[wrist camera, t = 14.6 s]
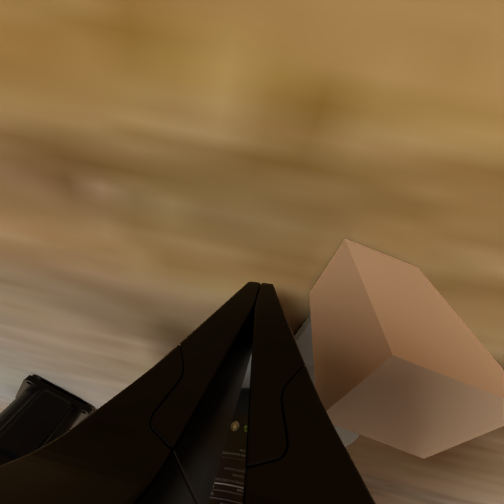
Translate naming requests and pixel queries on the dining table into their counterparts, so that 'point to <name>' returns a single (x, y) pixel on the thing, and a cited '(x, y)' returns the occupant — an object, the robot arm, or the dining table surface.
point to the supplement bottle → (233, 458)
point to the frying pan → (395, 357)
